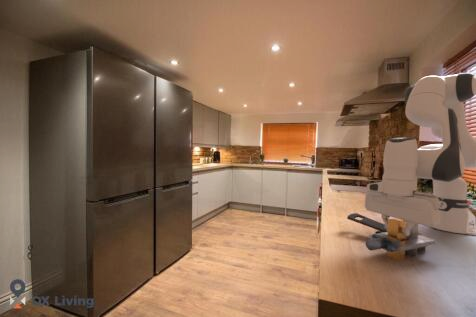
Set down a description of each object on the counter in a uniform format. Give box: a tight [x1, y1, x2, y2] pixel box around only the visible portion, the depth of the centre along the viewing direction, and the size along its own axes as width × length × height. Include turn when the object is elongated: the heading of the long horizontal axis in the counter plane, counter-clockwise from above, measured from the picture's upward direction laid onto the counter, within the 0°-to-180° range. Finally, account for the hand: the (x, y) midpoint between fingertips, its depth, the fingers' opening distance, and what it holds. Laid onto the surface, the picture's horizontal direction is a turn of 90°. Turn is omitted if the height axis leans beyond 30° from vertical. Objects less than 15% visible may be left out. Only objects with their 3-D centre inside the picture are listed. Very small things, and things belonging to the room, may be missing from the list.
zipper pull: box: [346, 212, 427, 254], centre depth 83 cm, size 9×7×25 cm
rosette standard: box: [364, 223, 437, 258], centre depth 68 cm, size 23×10×18 cm, turn 112°
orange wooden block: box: [386, 217, 406, 261], centre depth 69 cm, size 4×3×12 cm
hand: (396, 231), depth 69 cm, fingers open, 4 cm apart
